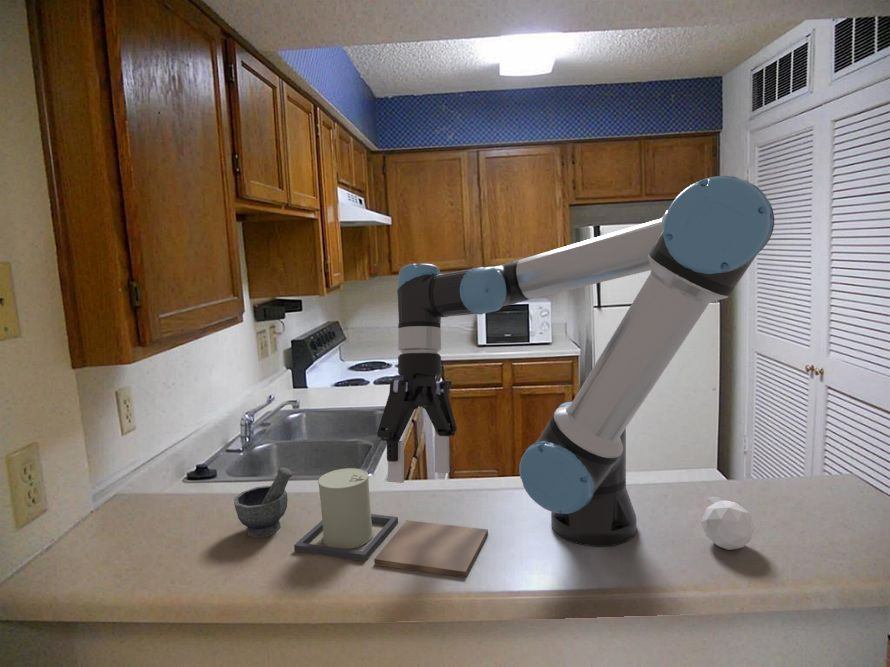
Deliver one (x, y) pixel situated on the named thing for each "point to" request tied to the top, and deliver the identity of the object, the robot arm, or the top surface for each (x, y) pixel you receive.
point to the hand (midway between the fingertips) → (420, 477)
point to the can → (345, 508)
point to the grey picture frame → (346, 553)
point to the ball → (728, 525)
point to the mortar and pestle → (263, 506)
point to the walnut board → (433, 548)
